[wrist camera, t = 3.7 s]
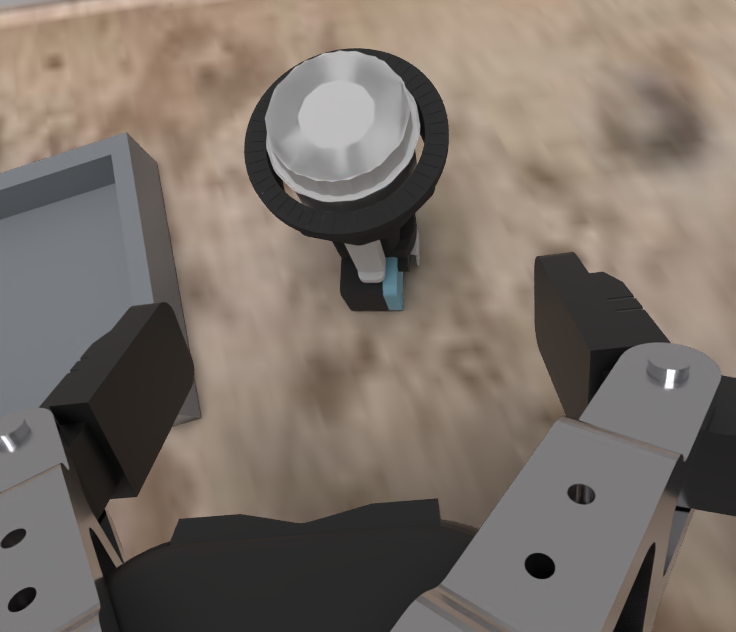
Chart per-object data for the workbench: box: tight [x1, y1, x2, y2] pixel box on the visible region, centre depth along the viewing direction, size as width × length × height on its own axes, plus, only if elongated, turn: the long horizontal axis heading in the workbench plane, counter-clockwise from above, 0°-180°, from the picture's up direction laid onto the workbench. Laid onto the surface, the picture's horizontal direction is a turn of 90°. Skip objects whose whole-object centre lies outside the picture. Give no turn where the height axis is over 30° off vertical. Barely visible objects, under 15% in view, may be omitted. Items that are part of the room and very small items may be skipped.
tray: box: [0, 132, 201, 426], centre depth 23 cm, size 14×12×2 cm
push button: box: [244, 48, 449, 310], centre depth 18 cm, size 7×5×10 cm
